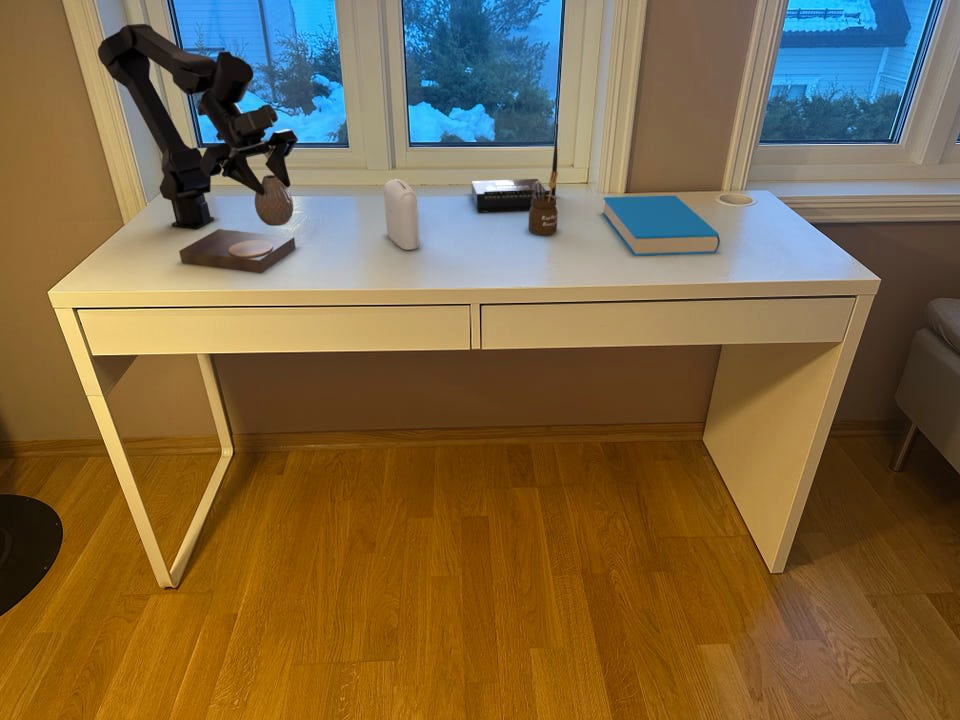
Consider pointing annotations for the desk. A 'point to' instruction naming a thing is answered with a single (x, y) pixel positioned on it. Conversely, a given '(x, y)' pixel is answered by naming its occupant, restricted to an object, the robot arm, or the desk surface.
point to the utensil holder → (543, 212)
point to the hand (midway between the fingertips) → (276, 190)
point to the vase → (274, 202)
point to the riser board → (238, 250)
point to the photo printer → (401, 214)
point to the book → (659, 226)
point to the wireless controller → (510, 191)
